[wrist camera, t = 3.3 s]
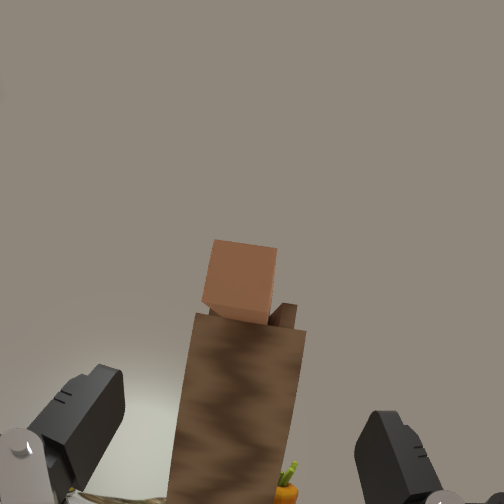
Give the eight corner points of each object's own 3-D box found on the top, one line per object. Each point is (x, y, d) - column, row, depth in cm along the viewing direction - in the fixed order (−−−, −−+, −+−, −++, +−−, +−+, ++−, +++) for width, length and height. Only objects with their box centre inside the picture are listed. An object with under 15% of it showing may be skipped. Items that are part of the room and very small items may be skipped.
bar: (201, 301, 17) (214, 239, 18) (237, 328, 38) (242, 300, 39) (267, 312, 16) (277, 248, 17) (266, 332, 37) (271, 304, 38)
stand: (146, 592, 15) (186, 284, 25) (171, 532, 29) (206, 306, 39) (253, 610, 15) (324, 307, 24) (249, 545, 29) (294, 321, 39)
